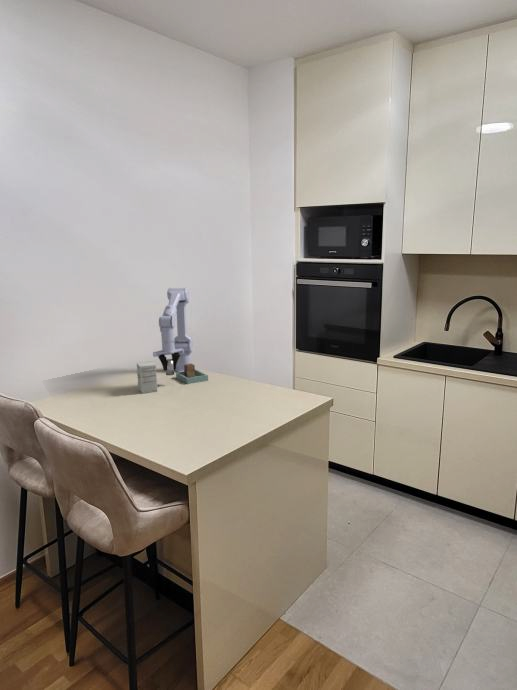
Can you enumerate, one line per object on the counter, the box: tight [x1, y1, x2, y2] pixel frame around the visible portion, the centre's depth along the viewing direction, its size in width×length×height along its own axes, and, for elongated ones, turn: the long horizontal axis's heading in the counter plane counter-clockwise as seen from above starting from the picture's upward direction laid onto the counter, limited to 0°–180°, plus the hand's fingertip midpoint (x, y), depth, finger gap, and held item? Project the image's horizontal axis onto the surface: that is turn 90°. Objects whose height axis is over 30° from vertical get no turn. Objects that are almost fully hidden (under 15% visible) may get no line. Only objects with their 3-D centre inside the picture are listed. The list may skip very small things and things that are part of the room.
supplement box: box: [136, 361, 158, 394], centre depth 215 cm, size 7×7×13 cm
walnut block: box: [184, 363, 196, 378], centre depth 235 cm, size 4×4×6 cm
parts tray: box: [175, 368, 209, 385], centre depth 233 cm, size 14×11×3 cm
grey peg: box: [165, 358, 175, 376], centre depth 223 cm, size 4×4×7 cm
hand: (169, 369), depth 223 cm, fingers closed on grey peg, 4 cm apart
